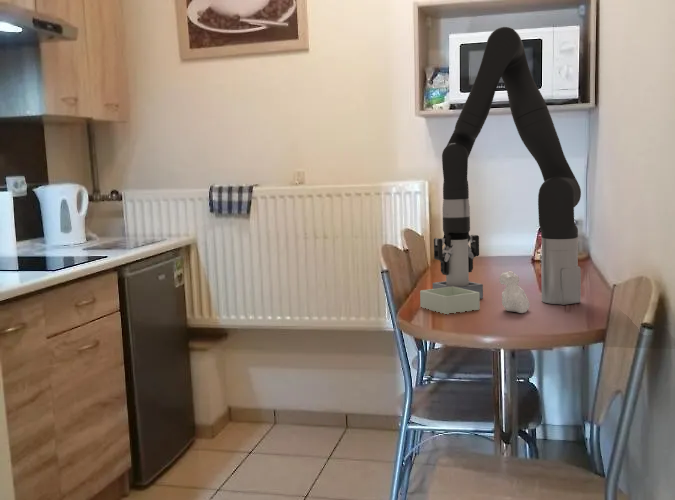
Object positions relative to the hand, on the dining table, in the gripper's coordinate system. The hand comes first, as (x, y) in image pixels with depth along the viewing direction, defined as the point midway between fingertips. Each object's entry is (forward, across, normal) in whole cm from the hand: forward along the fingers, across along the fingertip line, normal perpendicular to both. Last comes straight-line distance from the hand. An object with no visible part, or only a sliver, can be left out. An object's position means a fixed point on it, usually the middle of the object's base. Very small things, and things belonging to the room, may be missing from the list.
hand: (457, 273), depth 199 cm
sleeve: (+7, 0, 0) cm, 7 cm away
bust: (+7, +1, -23) cm, 24 cm away
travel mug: (+7, 0, 0) cm, 7 cm away
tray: (+7, -10, -11) cm, 17 cm away
